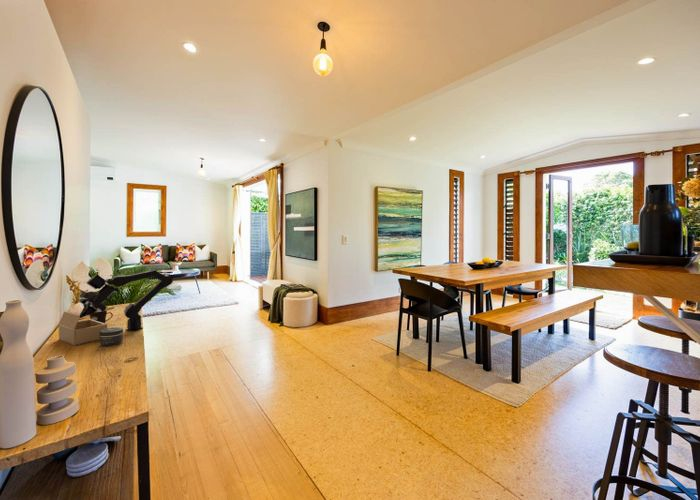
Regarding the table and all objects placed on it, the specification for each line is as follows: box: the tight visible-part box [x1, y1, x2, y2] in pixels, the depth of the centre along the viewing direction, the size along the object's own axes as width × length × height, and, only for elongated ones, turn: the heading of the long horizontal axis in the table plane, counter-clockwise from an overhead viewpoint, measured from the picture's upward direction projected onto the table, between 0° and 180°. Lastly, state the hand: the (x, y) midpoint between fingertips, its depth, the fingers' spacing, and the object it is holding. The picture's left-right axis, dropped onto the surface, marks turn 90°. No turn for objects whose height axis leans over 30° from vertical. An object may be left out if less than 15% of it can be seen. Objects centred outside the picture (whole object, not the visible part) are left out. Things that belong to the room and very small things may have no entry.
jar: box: [99, 326, 124, 348], centre depth 163 cm, size 10×10×8 cm
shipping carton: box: [58, 318, 108, 347], centre depth 169 cm, size 15×19×8 cm
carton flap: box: [58, 311, 81, 330], centre depth 164 cm, size 1×18×7 cm, turn 62°
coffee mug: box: [89, 308, 113, 324], centre depth 192 cm, size 12×9×10 cm
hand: (79, 317), depth 168 cm, fingers closed
